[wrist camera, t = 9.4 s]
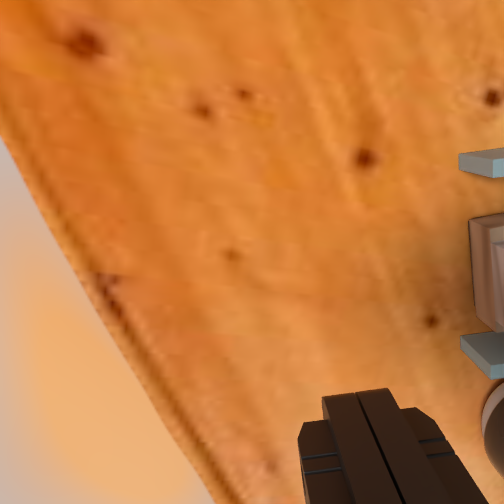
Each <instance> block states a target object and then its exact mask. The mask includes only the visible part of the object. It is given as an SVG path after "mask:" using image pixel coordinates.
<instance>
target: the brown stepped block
mask: <svg viewBox="0 0 504 504" xmlns="http://www.w3.org/2000/svg"><path fill="white" fill-rule="evenodd" d="M468 225H469V239H470V252H471V266H472V279H473V292H474V305H475V307H476V317H478V318H479V319H480V320H481V321H482V322H484V323H485V324H486V325H487V326H488V327H490V328H491V329H492V330H493V331H494V332H496V333H498V332H504V213H501V214H496V215H491V216H484V217H478V218H473V219H471V220H469V221H468Z"/></svg>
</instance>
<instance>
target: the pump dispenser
mask: <svg viewBox="0 0 504 504" xmlns="http://www.w3.org/2000/svg"><path fill="white" fill-rule="evenodd" d="M482 434H483V438H484V446H485V451H486V454H487V456H488V458H489V460H490V462H491V464H492V465H493V466H494V468H495V469H496V470H497V472H498V473H499V474H500V475H501V477H502V478H503V479H504V382H503V383H502V384H501V385H499V386H498V387H497V388H496V389H495V390H494V391H493V393H492V394H491V395H490V397H489V398H488V400H487V402H486V404H485V406H484V410H483V414H482Z"/></svg>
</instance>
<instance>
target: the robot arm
mask: <svg viewBox="0 0 504 504" xmlns="http://www.w3.org/2000/svg"><path fill="white" fill-rule="evenodd" d="M322 409H323V419H324V420H319V421H311V422H304V423H303V426H302V428H301V431H300V434H299V436H298V448H299V456H300V464H301V472H302V480H303V489H304V496H305V501H306V504H489V503H488V502H487V500H486V499H485V497H484V496H483V494H482V493H481V491H480V489H479V488H478V486H477V485H476V483H475V482H474V480H473V479H472V477H471V476H470V474H469V473H468V471H467V470H466V468H465V467H464V465H463V463H462V462H461V460H460V459H459V457H458V456H457V455H455V451H454V450H453V448H452V447H451V445H450V444H449V442H448V441H446V439H445V436H444V434H443V433H442V431H441V430H440V428H439V427H438V425H437V424H436V422H435V421H434V420H433V419H432V418H430V417H429V416H427V415H426V414H425V413H423V412H422V411H420V410H419V409H417V408H416V407H414V408H406V409H400V408H399V406H398V405H397V403H396V401H395V399H394V397H393V396H392V394H391V392H390V391H389V389H388V388H382V389H375V390H367V391H360V392H355V394H354V393H346V394H339V395H331V396H324V397H322Z"/></svg>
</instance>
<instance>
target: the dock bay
mask: <svg viewBox="0 0 504 504" xmlns="http://www.w3.org/2000/svg"><path fill="white" fill-rule="evenodd" d="M459 170H462V171H466V172H470V173H475V174H479V175H483V176H487V177H491V178H496V177H504V148H498V149H491V150H483V151H476V152H468V153H461V154H459ZM460 349H461V350H462V351H463V352H464V353H465V354H466V355H467V356H468V357H469V358H470V359H471V360H472V361H473V362H474V363H475V364H476V365H477V366H478V367H479V368H480V369H481V370H482V371H483V372H484V373H485V374H486V375H487V376H488V377H489V378H490V380H492V379H500V378H504V332H498V333H496V332H494V331H492V332H485V333H477V334H470V335H462V336H460Z"/></svg>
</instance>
